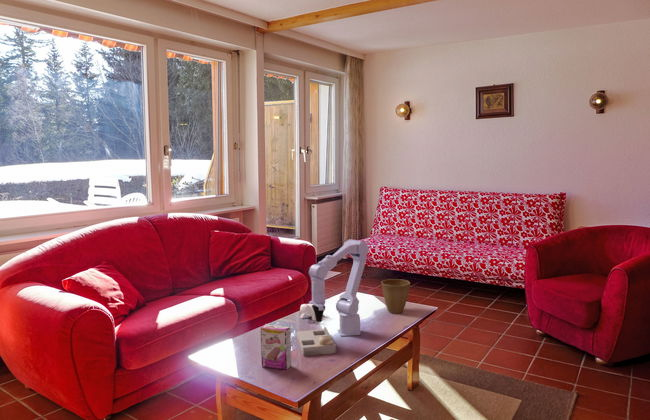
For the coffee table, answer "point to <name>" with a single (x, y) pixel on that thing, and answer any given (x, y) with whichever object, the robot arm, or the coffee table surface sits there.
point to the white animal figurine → (307, 311)
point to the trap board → (314, 342)
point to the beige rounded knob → (325, 340)
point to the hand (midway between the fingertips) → (318, 321)
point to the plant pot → (395, 294)
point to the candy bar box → (276, 346)
